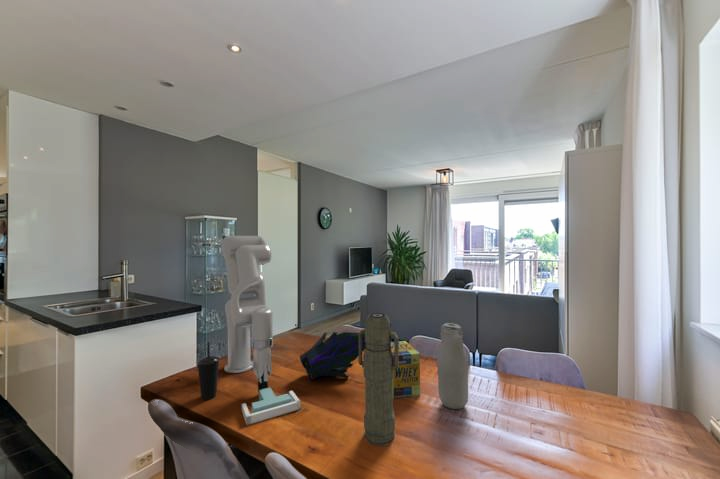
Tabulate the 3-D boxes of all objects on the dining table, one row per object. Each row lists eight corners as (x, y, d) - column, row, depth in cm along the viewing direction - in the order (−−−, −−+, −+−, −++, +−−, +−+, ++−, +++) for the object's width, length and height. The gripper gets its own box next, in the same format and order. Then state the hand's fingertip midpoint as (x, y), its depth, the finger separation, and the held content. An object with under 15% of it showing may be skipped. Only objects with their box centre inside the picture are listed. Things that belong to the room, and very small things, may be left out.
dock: (241, 411, 102) (241, 403, 102) (292, 397, 111) (292, 390, 111) (246, 425, 94) (246, 417, 94) (300, 408, 103) (300, 401, 103)
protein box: (393, 399, 108) (392, 355, 109) (381, 380, 124) (381, 342, 124) (421, 396, 111) (420, 353, 111) (406, 377, 126) (405, 340, 126)
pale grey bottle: (468, 401, 107) (466, 320, 107) (468, 417, 97) (467, 328, 97) (439, 396, 110) (437, 319, 110) (436, 411, 100) (435, 326, 100)
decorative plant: (309, 394, 131) (368, 363, 144) (319, 397, 109) (389, 360, 121) (292, 348, 137) (351, 322, 149) (299, 341, 115) (367, 311, 127)
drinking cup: (210, 403, 108) (210, 346, 108) (192, 401, 109) (191, 345, 110) (224, 392, 115) (224, 339, 116) (206, 390, 117) (206, 338, 117)
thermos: (399, 448, 83) (396, 319, 83) (356, 443, 85) (354, 317, 85) (401, 428, 91) (399, 312, 92) (362, 424, 94) (361, 310, 94)
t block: (247, 402, 108) (247, 393, 108) (281, 393, 114) (281, 384, 114) (254, 419, 97) (254, 408, 97) (291, 408, 103) (290, 398, 103)
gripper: (248, 339, 118) (248, 386, 118) (256, 350, 105) (256, 403, 105) (267, 335, 122) (268, 381, 122) (277, 346, 109) (278, 398, 109)
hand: (262, 391), depth 113 cm, fingers closed
